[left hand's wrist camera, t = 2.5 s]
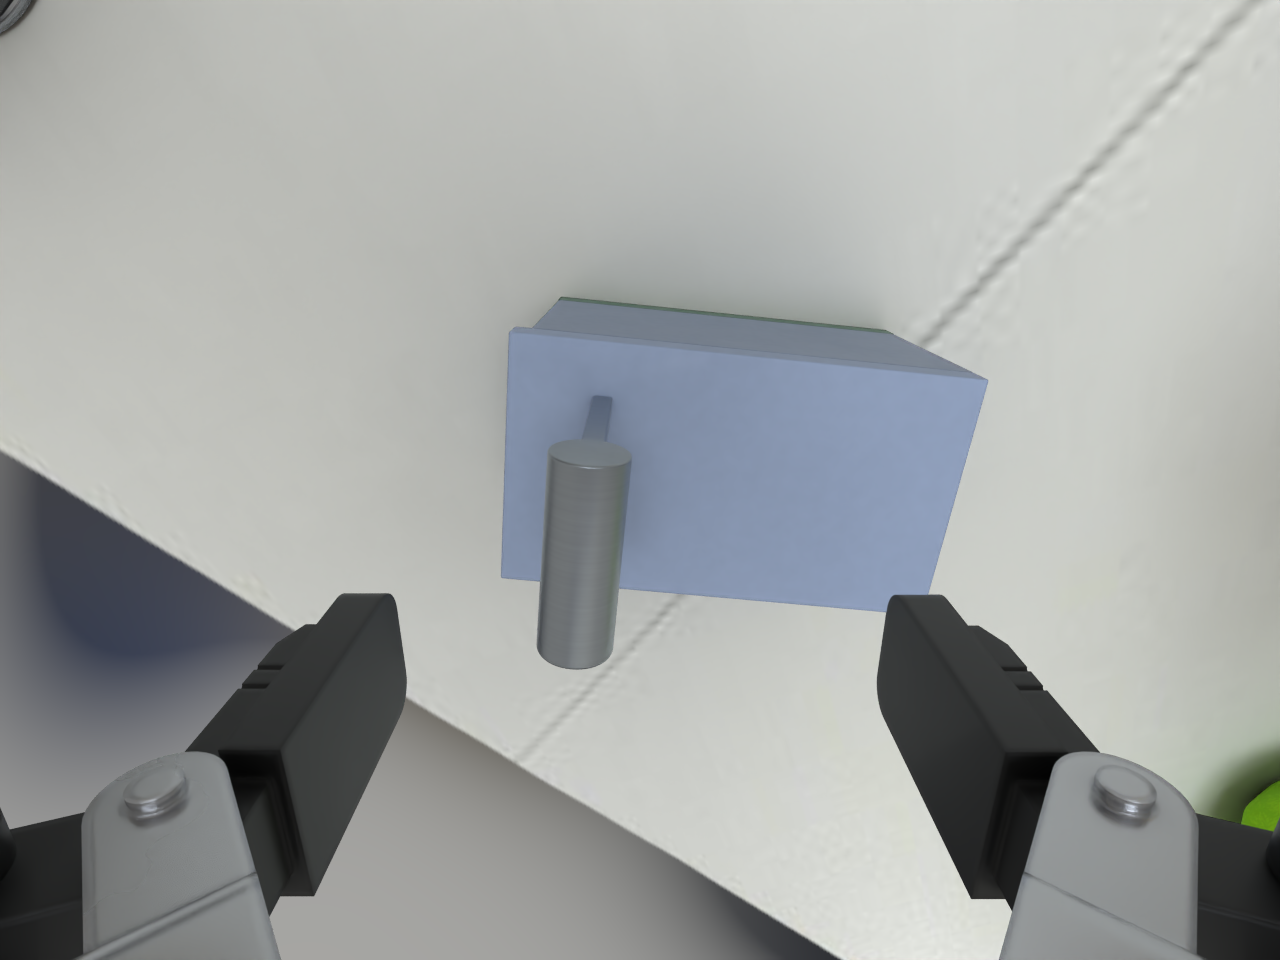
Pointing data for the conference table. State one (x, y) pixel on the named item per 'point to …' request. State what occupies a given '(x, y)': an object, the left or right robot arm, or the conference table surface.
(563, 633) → the lid
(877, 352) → the chest
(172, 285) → the conference table surface
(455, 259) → the conference table surface
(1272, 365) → the conference table surface
